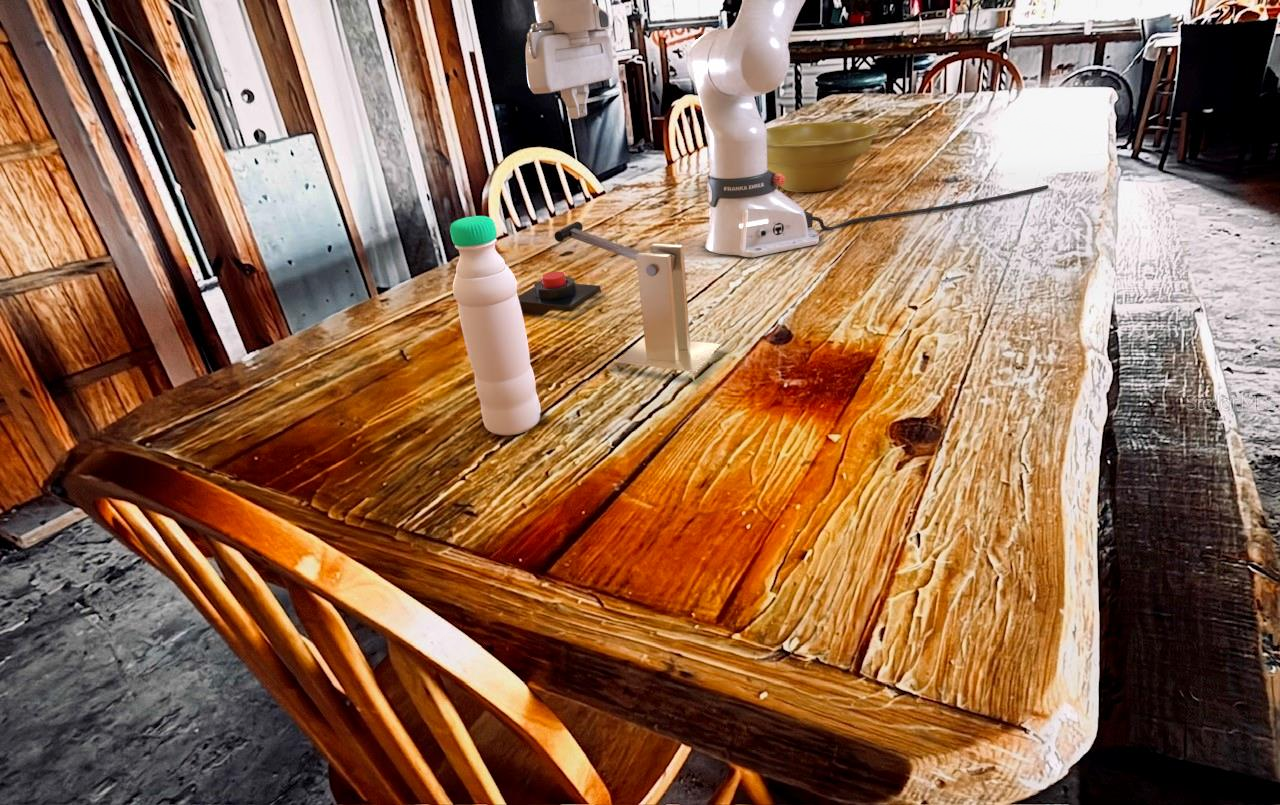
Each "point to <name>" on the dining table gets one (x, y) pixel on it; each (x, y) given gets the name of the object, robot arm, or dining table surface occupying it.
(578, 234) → the lever
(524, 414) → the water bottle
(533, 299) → the control block
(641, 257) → the bracket
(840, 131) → the planter bowl
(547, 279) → the button
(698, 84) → the robot arm
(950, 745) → the dining table surface
